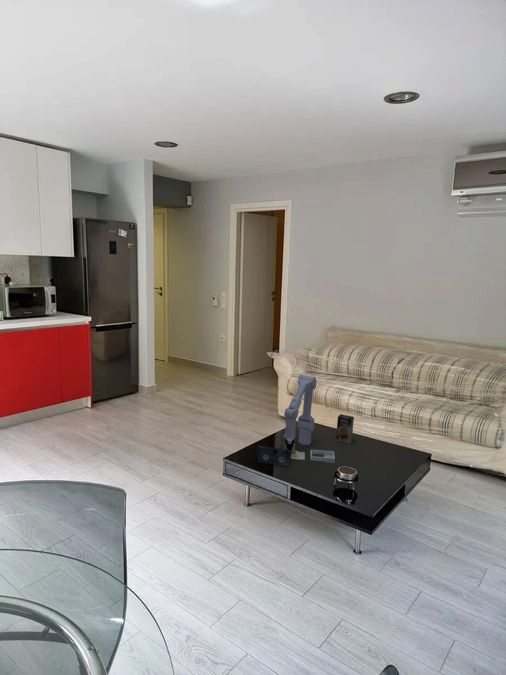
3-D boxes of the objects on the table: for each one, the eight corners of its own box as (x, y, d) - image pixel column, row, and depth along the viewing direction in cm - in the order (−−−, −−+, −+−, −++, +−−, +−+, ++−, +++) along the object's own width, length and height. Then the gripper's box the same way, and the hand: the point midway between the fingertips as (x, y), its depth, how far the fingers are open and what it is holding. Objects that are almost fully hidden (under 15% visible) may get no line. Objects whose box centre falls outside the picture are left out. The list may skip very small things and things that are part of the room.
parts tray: (310, 454, 266) (310, 449, 265) (333, 456, 265) (333, 451, 264) (310, 461, 256) (310, 456, 256) (334, 463, 255) (334, 458, 254)
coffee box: (335, 440, 287) (337, 416, 285) (338, 437, 293) (340, 413, 290) (349, 443, 283) (351, 419, 281) (352, 440, 289) (354, 416, 286)
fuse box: (274, 451, 268) (274, 447, 268) (304, 453, 266) (304, 449, 266) (273, 458, 258) (273, 454, 258) (304, 461, 257) (304, 457, 256)
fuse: (284, 453, 264) (284, 441, 263) (294, 454, 263) (295, 442, 262) (283, 455, 261) (284, 444, 260) (294, 456, 260) (294, 444, 259)
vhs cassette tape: (290, 466, 250) (291, 449, 248) (289, 469, 247) (290, 451, 245) (258, 461, 254) (259, 445, 253) (257, 464, 252) (257, 447, 250)
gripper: (284, 423, 267) (283, 445, 269) (282, 432, 253) (281, 455, 255) (296, 424, 266) (294, 446, 269) (295, 433, 252) (294, 456, 254)
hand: (289, 450), depth 262 cm, fingers open, 3 cm apart
